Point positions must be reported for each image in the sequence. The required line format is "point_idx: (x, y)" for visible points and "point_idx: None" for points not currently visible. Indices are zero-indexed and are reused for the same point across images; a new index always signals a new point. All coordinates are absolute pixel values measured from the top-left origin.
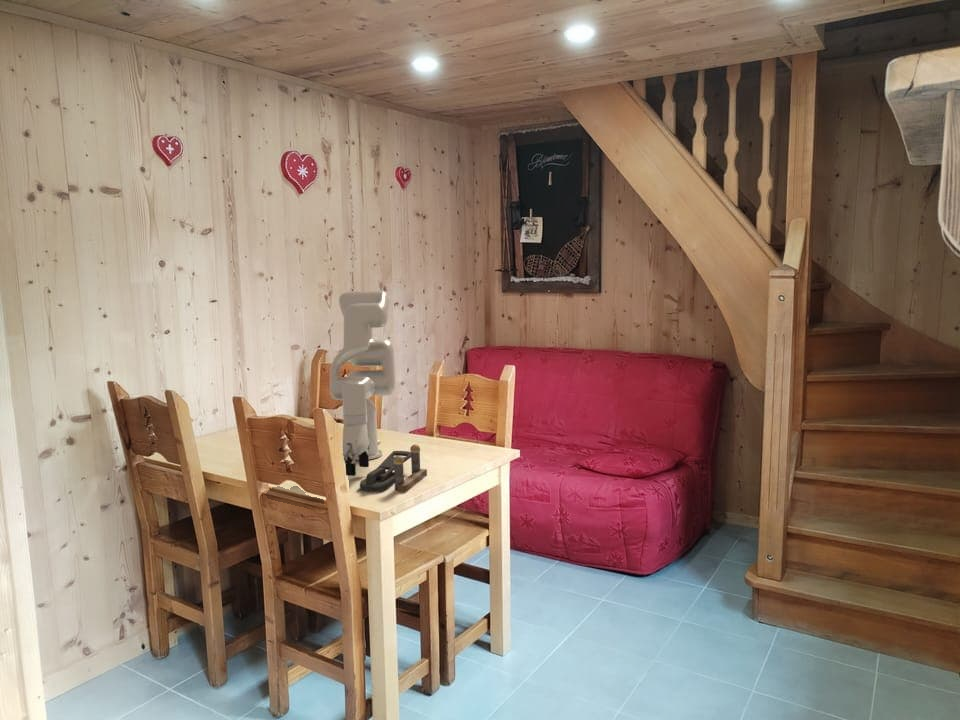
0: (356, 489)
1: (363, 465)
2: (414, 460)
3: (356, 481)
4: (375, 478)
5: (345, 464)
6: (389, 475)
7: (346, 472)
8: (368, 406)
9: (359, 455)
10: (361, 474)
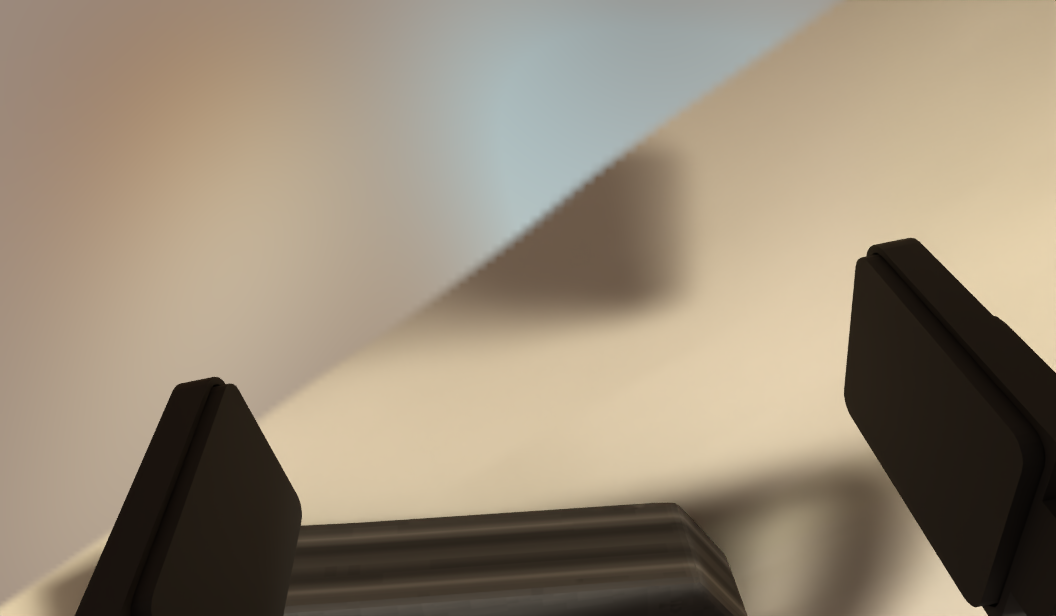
0: None
1: (865, 351)
2: None
3: (420, 333)
4: None
5: (82, 599)
6: None
7: (168, 432)
8: None
9: (1044, 453)
10: (824, 166)
